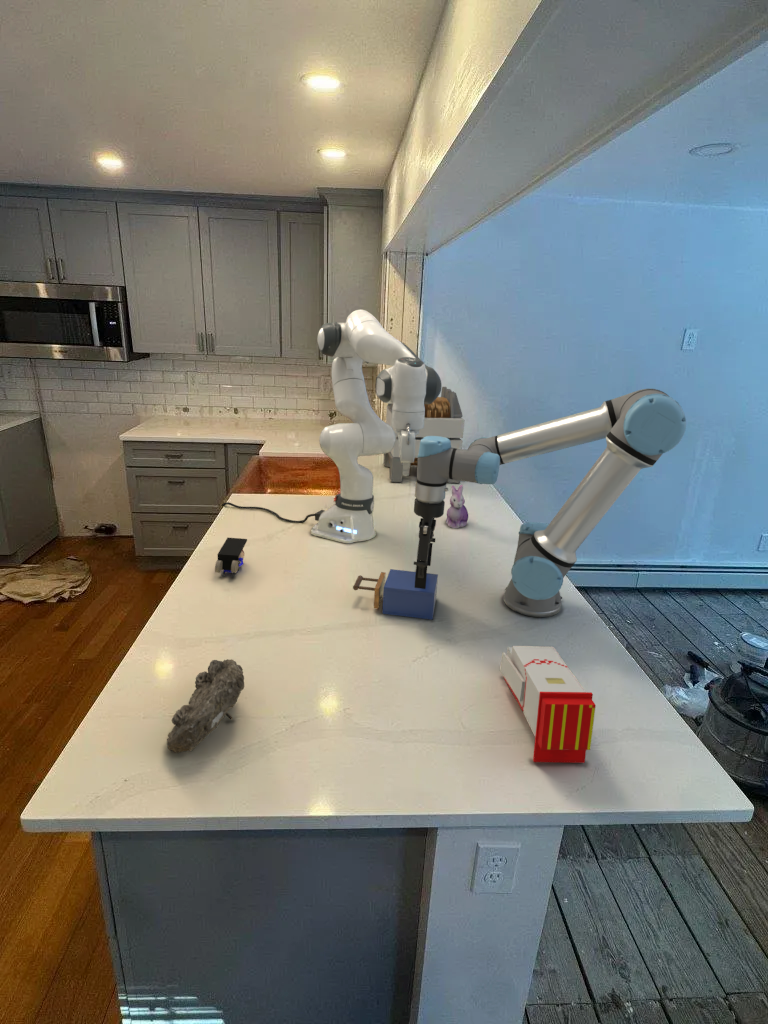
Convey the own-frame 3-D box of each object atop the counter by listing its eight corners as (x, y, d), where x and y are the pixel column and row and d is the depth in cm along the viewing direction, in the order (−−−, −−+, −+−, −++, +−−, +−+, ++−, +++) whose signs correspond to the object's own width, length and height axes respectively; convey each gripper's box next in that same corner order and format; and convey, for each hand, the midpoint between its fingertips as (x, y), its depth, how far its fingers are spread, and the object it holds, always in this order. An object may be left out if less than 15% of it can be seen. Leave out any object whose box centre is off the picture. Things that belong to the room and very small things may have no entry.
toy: (549, 628, 125) (605, 700, 96) (544, 683, 128) (596, 770, 99) (495, 627, 125) (534, 699, 95) (491, 683, 128) (527, 769, 98)
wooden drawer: (351, 605, 149) (351, 585, 147) (358, 588, 158) (359, 569, 156) (419, 613, 146) (420, 593, 144) (423, 596, 155) (424, 576, 153)
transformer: (382, 463, 289) (386, 382, 275) (445, 464, 293) (451, 384, 279) (390, 482, 257) (394, 392, 243) (460, 483, 261) (468, 394, 247)
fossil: (192, 660, 117) (244, 628, 112) (224, 691, 120) (276, 661, 115) (142, 746, 98) (202, 712, 93) (182, 779, 101) (242, 748, 96)
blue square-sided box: (382, 613, 147) (383, 587, 145) (389, 594, 158) (390, 568, 155) (432, 619, 145) (434, 592, 143) (436, 599, 156) (438, 574, 153)
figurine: (453, 530, 205) (457, 490, 200) (438, 521, 213) (441, 482, 208) (475, 527, 209) (479, 488, 204) (459, 517, 217) (462, 480, 212)
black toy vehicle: (238, 584, 162) (249, 557, 175) (236, 562, 158) (247, 536, 172) (215, 584, 161) (227, 556, 175) (212, 561, 158) (225, 535, 171)
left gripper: (421, 428, 142) (418, 481, 146) (417, 415, 161) (414, 462, 166) (396, 427, 142) (394, 480, 146) (395, 414, 161) (393, 461, 166)
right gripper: (441, 517, 129) (432, 600, 136) (448, 486, 152) (440, 558, 159) (408, 514, 130) (401, 596, 137) (420, 483, 153) (414, 554, 160)
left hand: (405, 470), depth 156 cm, fingers open, 8 cm apart
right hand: (422, 576), depth 148 cm, fingers open, 13 cm apart
